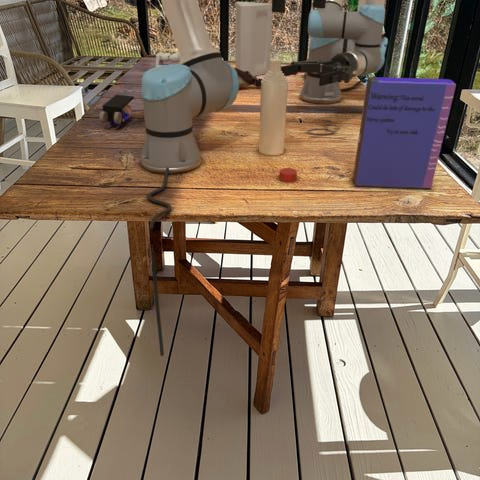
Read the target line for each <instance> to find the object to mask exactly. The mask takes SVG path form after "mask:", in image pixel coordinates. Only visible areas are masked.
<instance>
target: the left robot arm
mask: <svg viewBox="0 0 480 480" xmlns="http://www.w3.org/2000/svg"><path fill="white" fill-rule="evenodd" d="M160 1H161V5H162V7H163V11H164V13H165V16H166V19H167V22H168V25H169V28H170V30H171V34H172V36H173V39H174V42H175V45H176V47H177V48H176V49H177V50H178V53H179V54H180V57H181V59H180V62H179V61H178V63H170V64H162V65H161V66H157V67H156V66H154V67H151V68H150V69H148V70H146V71H145V72H144V73H143V74H142V76H141V77H142V78H141V92H140V93H141V96H142V104H143V115H144V125H145V138H144V142H143V146H142V150H141V154H140V162H141V166H142V168H144V169H145V170H146V171H149V172H151V173H156V174H163V175H164V176H163V184H162V185H161V187H159V188H157V189H154V190H152V191H150V192H149V193H148V194H147V199H148V201H150V202H152V203H155V204H159V205H161V206H164V207H166V208H167V209H164V210H161V211H160V212H158V213H156V214H155V215H154V216H153V217H152V218H151V220H150V222H149V229H154V225H155V223H156V221H157V220H158V219H159V218H160V217H161V216H163V215H166V214H169V213H170V212H171V211H172V206H171V204H170V203H168V202H166V201H163V200H159V199H155V198H153V197H152V196H153V195H155V194H158V193H160V192H162V191H164V190H165V189H166V186H167V183H168V177H169V176H168V175H169V174H170V175H172V174H173V175H175V174H182V173H187V172H190V171H193V170H195V169H197V168H198V167H199V166H201V163H202V155H201V151H200V149H199V146H198V143H197V141H196V137H195V135H194V130H193V129H194V126H193V119H194V118H197V117H201V116H204V115H208V114H211V113H218V112H220V111H222V110H224V109H225V110H226V109H227V108H229V107H231V106H232V105H233V104H234V103H235V102H236V99H237V95H238V94H239V90H240V88H239V79H238V75H237V72H236V70H235V67H234V66H233V65H232V64H230V63H229V62H226V61H224V59H223V56H222V53H221V51H220V50H219V49H216V48H214V47H213V45H212V41H211V38H210V35H209V33H208V29H207V27H206V23H205V20H204V16H203V14H202V11H201V7H200V5H199V2H198V0H160ZM286 1H287V0H271V4H272V13H279V14H285V13H286V3H287V2H286ZM325 5H326V0H312V8H313V9H317V8H325ZM150 255H151V269H152V285H153V295H154V296H153V297H154V306H155V313H156V314H155V316H156V324H157V325H156V326H157V332H158V333H157V334H158V343H159V353H160V356H161V357H163V356H164V355H165V352H164V342H163V332H162V331H163V330H162V321H161V311H160V303H159V302H160V301H159V290H158V289H159V288H158V278H157V263H156V261H157V260H156V250H150Z"/></svg>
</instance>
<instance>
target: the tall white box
mask: <svg viewBox="0 0 480 480" xmlns="http://www.w3.org/2000/svg"><path fill="white" fill-rule="evenodd" d="M272 31H273V12H272V3H269V2H267V3H266V2H265V3H264V2H252V1H235V59H234V60H235V62H234V63H235V65H234V66H235V67H234V68H237V69H240V70H242V71H244V72H245V71H249V72H250V73H251V75H252V76H256V77H257V76H259V75H260V76H261V75H266V73H268V71H269V70H270V59H271V56H272V55H271V54H272V33H273V32H272Z"/></svg>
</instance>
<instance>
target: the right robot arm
mask: <svg viewBox="0 0 480 480" xmlns="http://www.w3.org/2000/svg"><path fill="white" fill-rule="evenodd" d="M343 2H344V0H326V5H325V8H316V9H313V10H310V11H309V14H308V23H307V34H308V36H309V37H310V39H309V46H308V50H309V51H308V57H307V59H308V61H306V60H302V61H301V60H300V61H299V60H298V61H291V62H290V64H286V65H281V71H282V73H283V74H284V76H286V77H290V76H297V75H298V74H300V73H301V74H302V73H307V77H306V78H305V80H304V83H303V86H302V88H301V90H300V96H299V98H300V99H301V100H302V101H303V102H304V101H305V102H306V103H307V102H308V103H311V104H321V105H322V104H323V105H324V104H325V105H329V104H335V103H338V102H339V103H340V102H341V100H342V92H346V91H350V90H354V89H356V87H357V86H358V85H359V84H361V83H363V84H367V80H366V79H364V78H362V79H360V80H358V81H357V82H355V83H354V84H353V85H352V86H349V87H343V88H341V83H342V82H343V83H344V84H349V83H350V81H351V80H353V78H357V77H361V76H366V75H371V74H373V73H376V72H378V71H379V70H381V69H382V68H383V66H384V65H385V60H386V59H385V58H386V57H385V55H386V52H387V47H388V43H389V40H388V37H386V36H385V33H386V32H385V31H384V26H385V17H386V8H385V4H386V0H358V4H357V11H344V10H343V4H344V3H343ZM342 10H343V11H342Z"/></svg>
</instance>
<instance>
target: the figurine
mask: <svg viewBox="0 0 480 480" xmlns="http://www.w3.org/2000/svg"><path fill="white" fill-rule="evenodd" d="M234 68H235V67H234ZM235 70H236V72H237V75H238V79H239V89H241V88H247V87H249V86H255V87H256V88H261V81H262V78H261V77H257V76H252V75H251V73H250V72H249V71H245V72H244V71H242V70H240V69H237V68H235Z"/></svg>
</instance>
